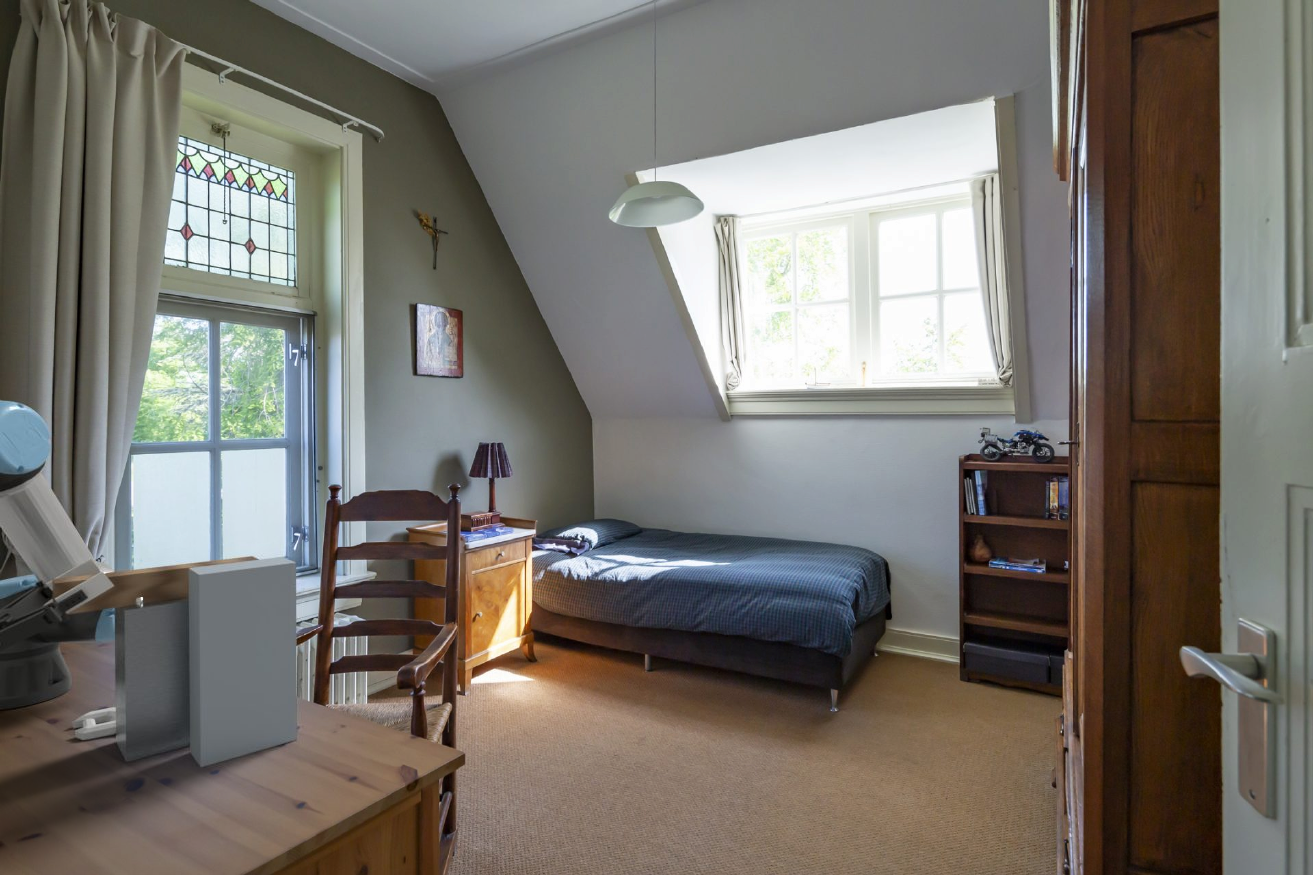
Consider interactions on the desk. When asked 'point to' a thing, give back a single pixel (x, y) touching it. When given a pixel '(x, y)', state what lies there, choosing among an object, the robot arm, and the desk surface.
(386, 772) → the desk surface
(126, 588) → the rail
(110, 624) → the robot arm
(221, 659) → the stand
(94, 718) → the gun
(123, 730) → the plate
